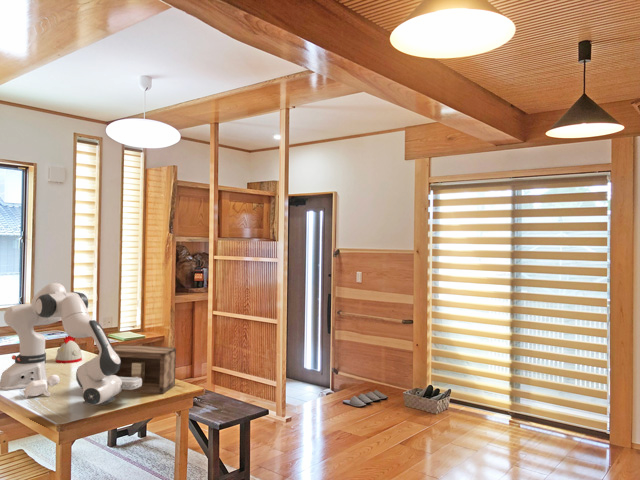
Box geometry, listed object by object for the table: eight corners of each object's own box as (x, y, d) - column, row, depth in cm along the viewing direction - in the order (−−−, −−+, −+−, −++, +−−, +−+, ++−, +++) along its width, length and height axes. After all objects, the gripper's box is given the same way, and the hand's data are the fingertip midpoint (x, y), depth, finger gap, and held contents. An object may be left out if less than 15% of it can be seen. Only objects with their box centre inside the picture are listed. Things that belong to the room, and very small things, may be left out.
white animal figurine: (29, 406, 228) (64, 389, 237) (22, 389, 227) (57, 372, 235) (27, 401, 235) (61, 384, 244) (20, 384, 233) (54, 368, 242)
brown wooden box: (163, 394, 242) (164, 353, 242) (102, 390, 245) (103, 350, 245) (174, 386, 255) (175, 347, 256) (117, 382, 259) (118, 344, 259)
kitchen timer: (50, 362, 298) (51, 336, 298) (68, 357, 311) (69, 332, 312) (69, 364, 294) (70, 338, 294) (87, 359, 307) (87, 334, 307)
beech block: (140, 384, 246) (140, 363, 246) (131, 383, 246) (131, 363, 246) (144, 382, 250) (145, 361, 250) (135, 381, 251) (136, 360, 251)
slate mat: (104, 404, 224) (104, 403, 224) (83, 403, 225) (83, 401, 225) (116, 398, 233) (116, 396, 233) (95, 396, 234) (95, 395, 235)
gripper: (134, 380, 222) (148, 372, 235) (89, 377, 224) (105, 369, 237) (133, 394, 222) (147, 386, 235) (88, 391, 224) (105, 383, 237)
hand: (126, 377), depth 236 cm, fingers open, 8 cm apart
